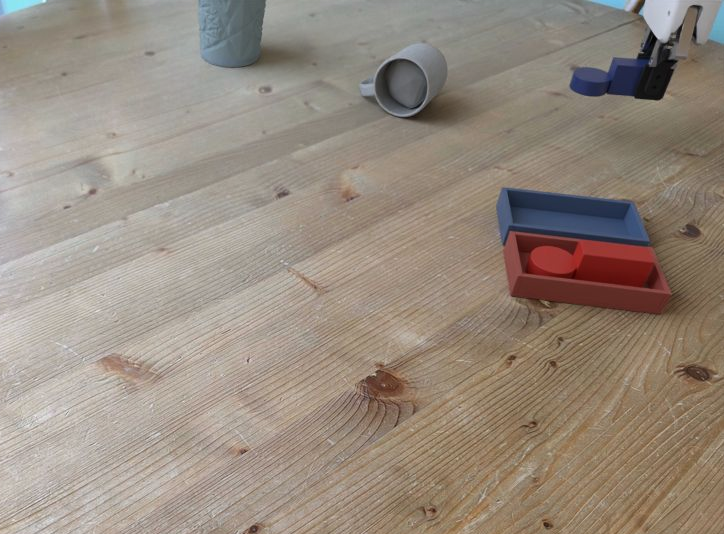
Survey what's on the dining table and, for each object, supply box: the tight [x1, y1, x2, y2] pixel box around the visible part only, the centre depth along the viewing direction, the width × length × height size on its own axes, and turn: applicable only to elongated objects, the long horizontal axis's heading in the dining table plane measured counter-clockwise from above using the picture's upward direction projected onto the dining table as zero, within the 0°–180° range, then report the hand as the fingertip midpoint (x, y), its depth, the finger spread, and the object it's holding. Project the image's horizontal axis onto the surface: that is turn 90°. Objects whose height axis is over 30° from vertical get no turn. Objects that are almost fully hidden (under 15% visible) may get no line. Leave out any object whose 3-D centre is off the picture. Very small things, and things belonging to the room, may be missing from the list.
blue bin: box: [495, 186, 651, 247], centre depth 79 cm, size 14×7×2 cm, turn 82°
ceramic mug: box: [358, 42, 449, 118], centre depth 97 cm, size 11×8×8 cm
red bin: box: [503, 231, 673, 315], centre depth 73 cm, size 14×7×2 cm, turn 82°
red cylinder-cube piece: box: [526, 240, 655, 288], centre depth 72 cm, size 11×4×4 cm, turn 82°
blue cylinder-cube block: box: [568, 56, 676, 100], centre depth 89 cm, size 11×4×4 cm, turn 82°
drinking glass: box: [197, 0, 267, 68], centre depth 104 cm, size 10×10×12 cm
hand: (643, 91), depth 90 cm, fingers closed on blue cylinder-cube block, 2 cm apart
